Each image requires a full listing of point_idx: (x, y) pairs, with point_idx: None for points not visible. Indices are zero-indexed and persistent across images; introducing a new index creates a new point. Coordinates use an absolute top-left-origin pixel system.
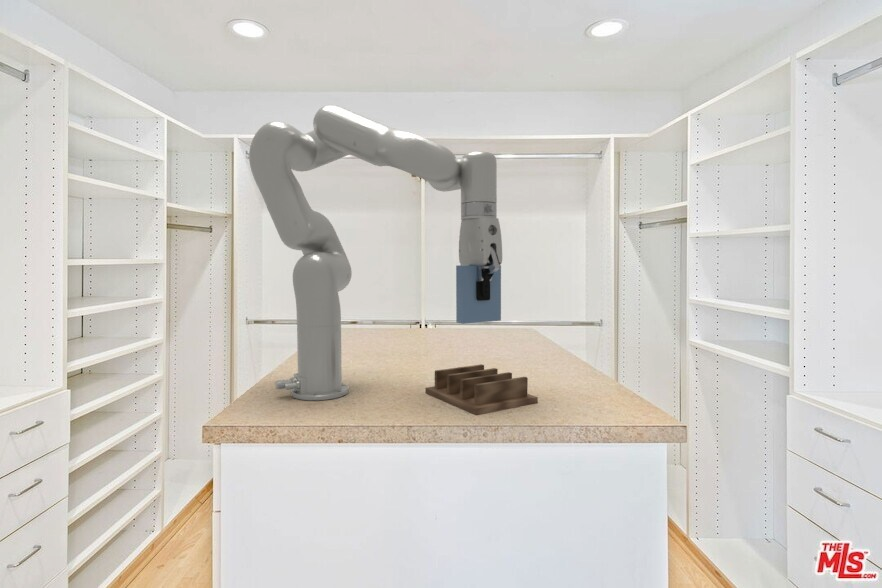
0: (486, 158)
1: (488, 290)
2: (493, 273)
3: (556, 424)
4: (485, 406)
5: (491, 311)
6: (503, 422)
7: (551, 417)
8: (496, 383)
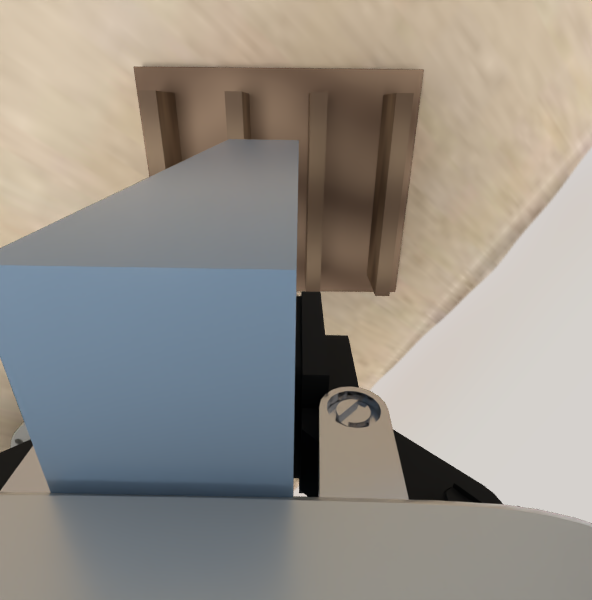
0: None
1: (352, 361)
2: (479, 488)
3: (560, 169)
4: (395, 262)
5: (297, 230)
6: (462, 261)
7: (521, 137)
8: (395, 230)
